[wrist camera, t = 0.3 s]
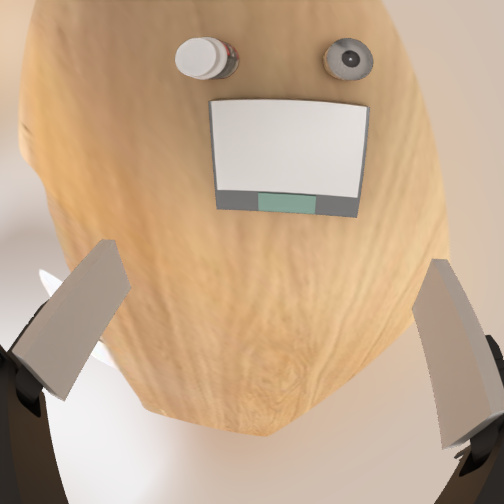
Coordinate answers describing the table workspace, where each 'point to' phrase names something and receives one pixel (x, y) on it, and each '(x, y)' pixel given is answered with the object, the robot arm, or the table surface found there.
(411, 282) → the table surface
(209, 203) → the table surface
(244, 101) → the kitchen scale
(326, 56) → the cylinder
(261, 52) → the table surface
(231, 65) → the pill bottle
